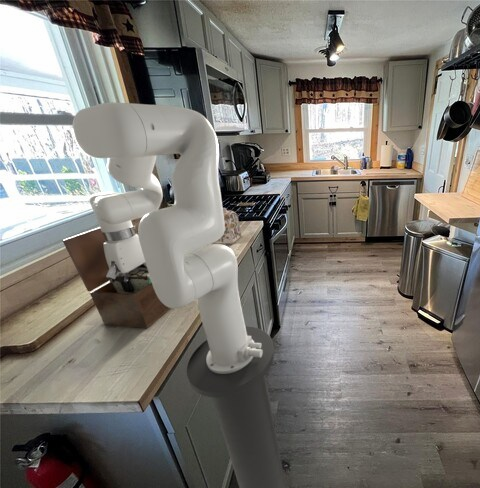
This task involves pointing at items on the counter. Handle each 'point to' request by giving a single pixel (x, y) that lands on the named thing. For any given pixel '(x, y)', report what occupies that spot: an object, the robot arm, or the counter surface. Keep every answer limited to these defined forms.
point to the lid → (89, 257)
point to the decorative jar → (230, 228)
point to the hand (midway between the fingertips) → (138, 284)
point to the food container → (134, 280)
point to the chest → (128, 306)
